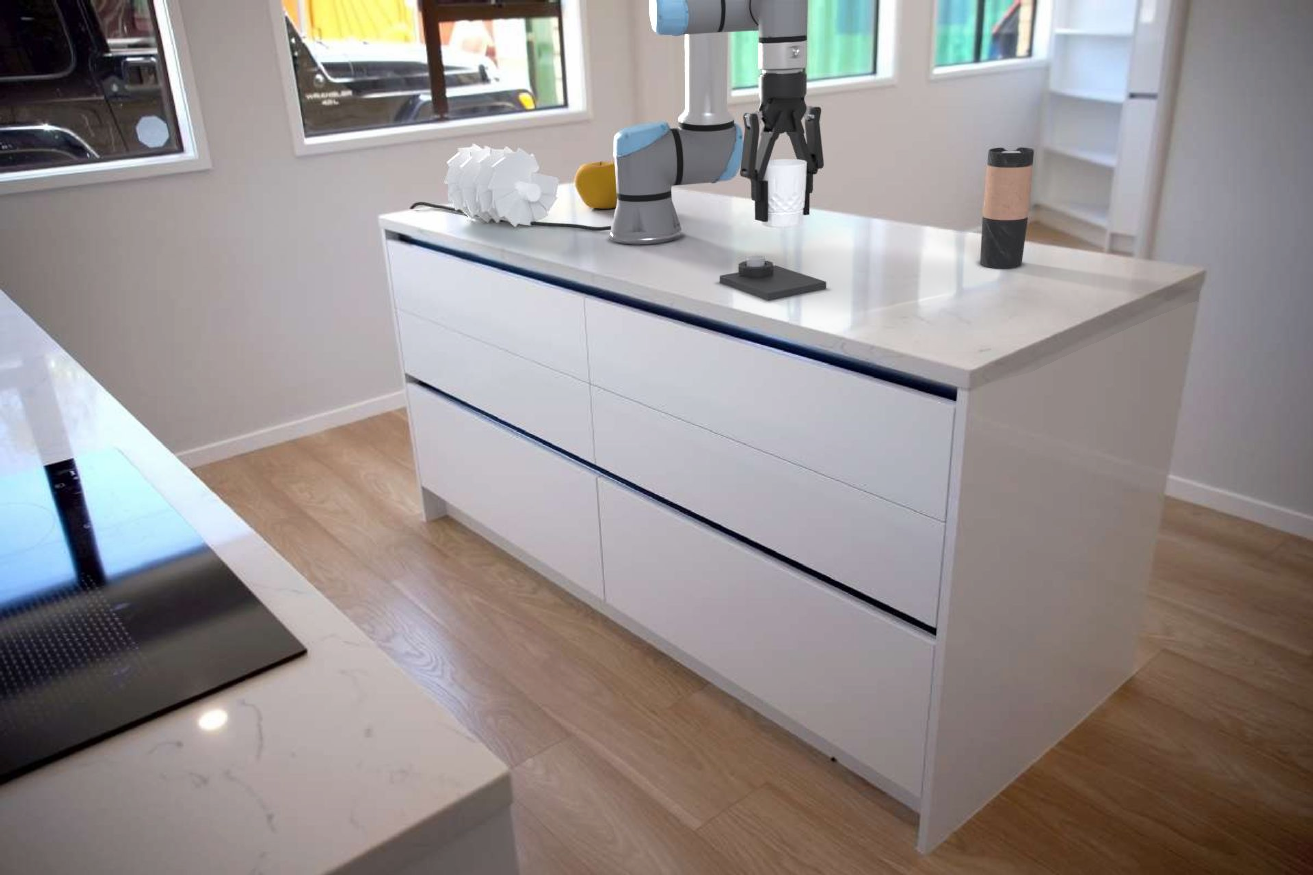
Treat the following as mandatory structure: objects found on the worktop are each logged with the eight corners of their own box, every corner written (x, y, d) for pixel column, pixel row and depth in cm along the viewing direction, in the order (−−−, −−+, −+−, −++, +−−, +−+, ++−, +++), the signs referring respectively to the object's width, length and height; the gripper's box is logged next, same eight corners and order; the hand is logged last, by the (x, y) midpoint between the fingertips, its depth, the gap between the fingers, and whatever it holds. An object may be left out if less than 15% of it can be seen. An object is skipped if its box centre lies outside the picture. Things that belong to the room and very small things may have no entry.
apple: (627, 212, 243) (624, 164, 238) (574, 214, 243) (570, 166, 239) (629, 202, 255) (627, 156, 250) (579, 204, 255) (575, 159, 250)
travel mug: (1000, 271, 175) (1011, 154, 167) (969, 263, 181) (978, 150, 173) (1032, 264, 178) (1044, 149, 170) (1000, 257, 185) (1010, 145, 177)
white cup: (804, 228, 162) (805, 165, 158) (756, 229, 163) (755, 166, 159) (807, 219, 169) (808, 158, 165) (761, 219, 170) (760, 159, 166)
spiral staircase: (522, 248, 229) (458, 230, 245) (573, 204, 236) (508, 189, 252) (488, 180, 217) (424, 166, 233) (543, 136, 224) (477, 125, 240)
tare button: (743, 265, 177) (742, 257, 176) (758, 263, 178) (758, 254, 177) (753, 269, 174) (753, 260, 173) (768, 266, 175) (768, 257, 175)
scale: (718, 282, 177) (717, 266, 176) (773, 272, 182) (773, 256, 181) (767, 301, 164) (767, 284, 163) (826, 289, 169) (826, 272, 168)
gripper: (741, 76, 149) (742, 229, 158) (849, 67, 158) (845, 212, 167) (714, 75, 155) (717, 222, 164) (820, 66, 164) (818, 206, 173)
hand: (782, 217), depth 166 cm, fingers closed on white cup, 8 cm apart
